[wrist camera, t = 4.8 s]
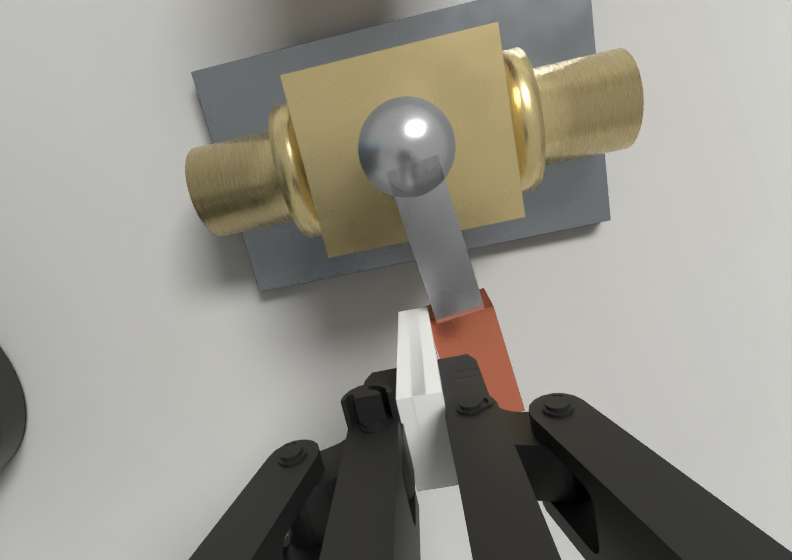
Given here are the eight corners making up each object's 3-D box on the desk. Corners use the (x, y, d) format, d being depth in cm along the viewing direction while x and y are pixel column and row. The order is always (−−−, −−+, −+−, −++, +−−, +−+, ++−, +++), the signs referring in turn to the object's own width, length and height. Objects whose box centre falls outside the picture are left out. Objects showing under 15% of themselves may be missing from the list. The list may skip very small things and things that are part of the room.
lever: (352, 120, 17) (342, 116, 14) (434, 90, 17) (439, 80, 14) (448, 395, 20) (453, 430, 18) (519, 374, 20) (535, 407, 17)
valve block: (265, 286, 27) (208, 341, 20) (199, 74, 24) (102, 41, 16) (603, 217, 26) (686, 247, 18) (580, -21, 22) (670, -108, 15)
